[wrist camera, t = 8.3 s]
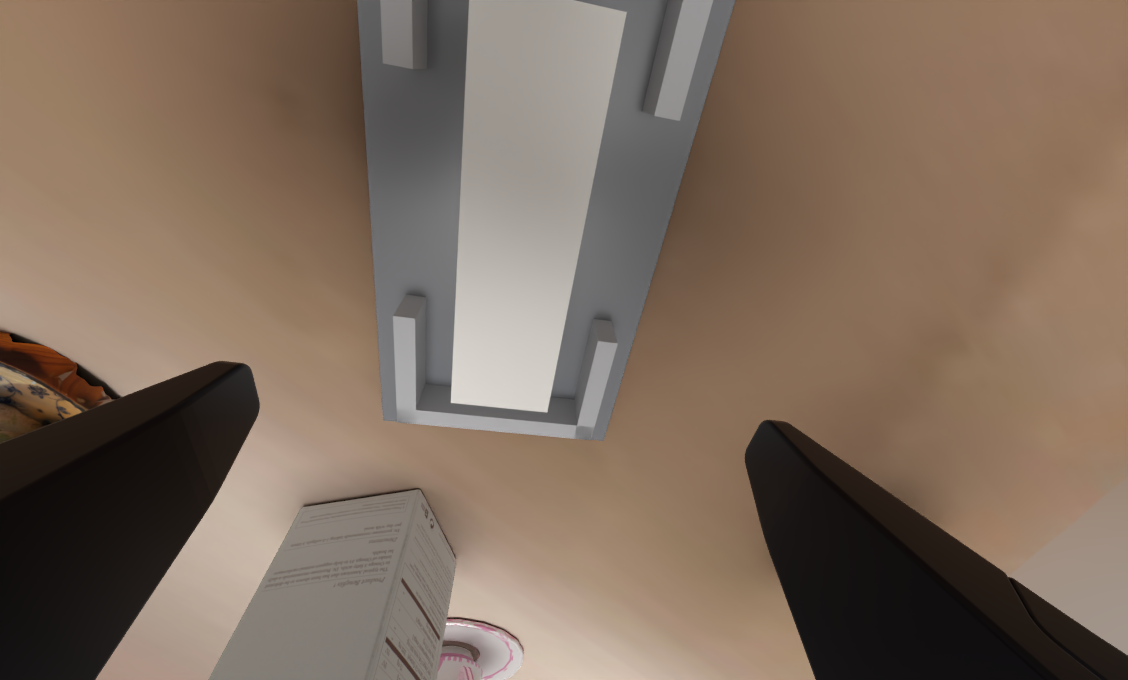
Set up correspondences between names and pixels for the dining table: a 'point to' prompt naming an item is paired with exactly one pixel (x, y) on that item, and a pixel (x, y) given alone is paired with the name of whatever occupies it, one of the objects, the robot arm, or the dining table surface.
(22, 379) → the burger
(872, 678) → the robot arm
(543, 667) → the dining table surface
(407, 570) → the supplement box
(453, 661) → the teacup
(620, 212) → the grey bracket base
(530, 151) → the slat
